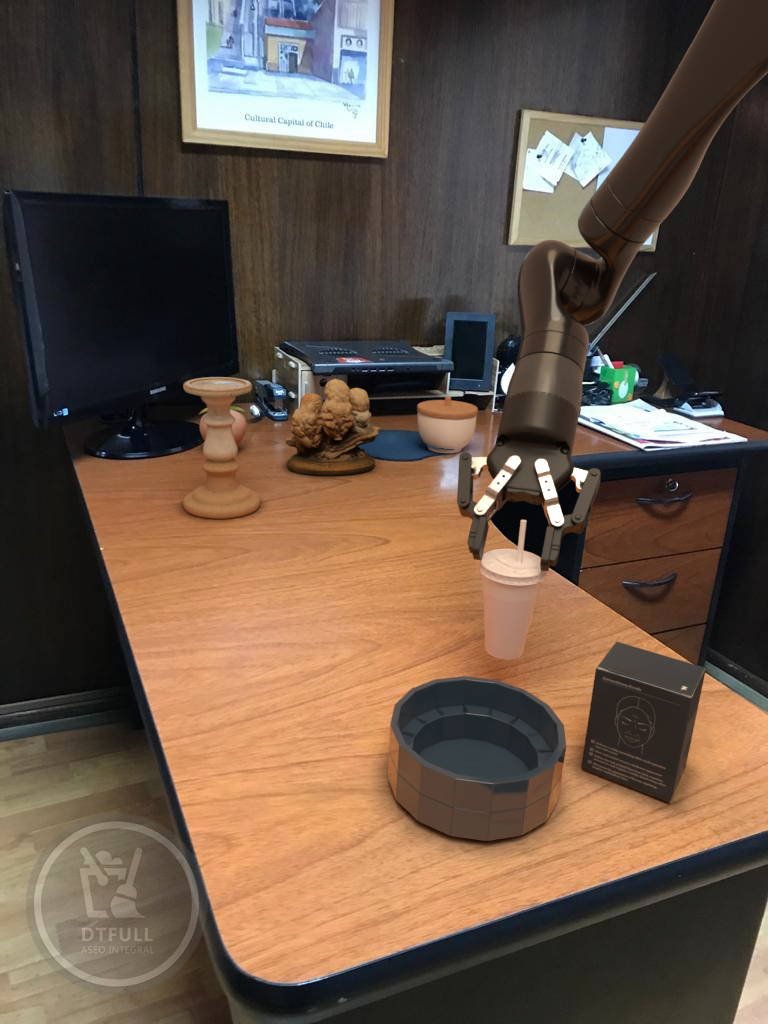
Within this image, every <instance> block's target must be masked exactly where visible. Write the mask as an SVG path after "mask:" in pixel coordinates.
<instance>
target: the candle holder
mask: <svg viewBox="0 0 768 1024" xmlns="http://www.w3.org/2000/svg"><path fill="white" fill-rule="evenodd" d="M182 385H183V386H182V388H183V390H184V392H185V393H187V394H189V395H192V396H198V397H200V398H201V401H202V402H203V403H205V406H206V408H208V412H207V415H206V416H205V417H204V418H203V422H204V423H205V424H206V425H207V432H206V438H205V440H204V442H203V444H202V445H203V446H202V454H203V456H204V457H205V458H207V459H206V460H204V462H203V463H202V465H201V469H202V470H203V471H204V473H205V474H206V482H205V483H206V484H203V485H200V486H198V487H196V488H195V489H194V490H193V491H190V492H189V493H187V494H186V495H185V496H184V498H183V500H182V506H183V510H185V512H187V513H188V514H190V515H193V516H196V517H198V518H203V519H213V520H214V519H215V520H217V519H219V520H222V519H224V520H225V519H233V518H239V517H243V516H247V515H250V514H252V513H254V512H255V511H257V510H258V509H259V508H260V506H261V497H260V495H259V494H258V492H255V491H254V490H252V489H250V488H248V487H247V486H245V485H242V484H240V483H237V478H236V473H237V472H238V470H239V469H240V463H239V462H238V461H237V460H236V459H235V457H236V456H237V454H238V452H239V449H238V444H236V442H235V439H234V435H233V431H232V424H234V423H235V418H234V417H233V416H232V415H231V413H230V406H232V403H234V402H235V401H236V397H238V396H239V397H240V396H243V395H246V394H248V393H250V392H251V391H252V389H253V384H252V382H251V381H250V380H247V379H243V378H238V377H228V376H208V377H207V376H206V377H196V378H192V379H189V380H185V381H184V382H183V384H182Z"/></svg>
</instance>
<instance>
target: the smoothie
mask: <svg viewBox="0 0 768 1024" xmlns="http://www.w3.org/2000/svg"><path fill="white" fill-rule="evenodd" d="M527 521H528V520H527V519H521V520H520V523H519V525H520V526H519V532H518V540H517V541H518V542H517V548H497V549H492V550H489V551H487V552H485V553H483V556H482V560H479V565H478V570H479V572H480V574H481V575H482V597H483V598H482V599H483V623H484V646H485V652H486V653H487V654H488V655H489V656H491V657H493V658H495V659H499V660H506V661H507V660H508V661H509V660H511V661H512V660H516V659H519V658H520V657H521V656H523V652H524V649H525V646H526V642H527V638H528V634H529V630H530V627H531V623H532V618H533V615H534V611H535V607H536V603H537V599H538V596H539V592H540V589H541V584H542V582H543V581H544V580H545V579H546V577H547V571H542V570H541V568H540V562H541V556H539V555H537V554H536V553H533V552H530V551H527V550H525V549H524V548H525V539H526V531H527Z"/></svg>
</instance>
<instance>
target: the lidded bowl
mask: <svg viewBox="0 0 768 1024" xmlns="http://www.w3.org/2000/svg"><path fill="white" fill-rule="evenodd" d="M416 412H417V414H416V415H417V416H416V417H417V418H416V423H417V431H418V434H419V437H420V439H421V441H422V442H423V443H424V444H425V443H426V444H428V445H430V446H433V447H436V448H444V449H454V450H444V449H436V448H432V447H429V446H427V449H428V450H429V451H430V452H434V453H439V454H457V453H460V452H461V451H463V450H462V449H464V448H465V447H466V446H467V445H468V444H469V443H470V441H471V440H472V438H473V437H474V434H475V430H476V426H477V416H478V414H479V409H478V407H477V406H476V405H474V404H473V403H468V402H466V401H465V402H464V401H459V400H452V397H451V396H445V398H444V399H431V400H425V401H422V402H419V403H418V404H417V405H416ZM426 444H425V445H426Z"/></svg>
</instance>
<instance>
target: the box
mask: <svg viewBox="0 0 768 1024" xmlns="http://www.w3.org/2000/svg"><path fill="white" fill-rule="evenodd" d="M706 671H707V670H706V667H705V666H701V665H699V664H695V663H691V662H688V661H683V660H680V659H677V658H675V657H674V658H673V657H670V656H667V655H663V654H660V653H658V652H654V651H650V650H647V649H643V648H640V647H637V646H634V645H629V644H626V643H624V642H620V641H616V642H614V644H612V647H611V648H610V649H609V650H608V652H607V653H606V654H605V656H604V657H603V659H602V660H601V661H600V662H599V664H598V665H597V666H596V668H595V671H594V672H595V673H594V678H593V684H592V692H591V700H590V706H589V711H588V712H589V713H588V718H587V726H586V733H585V740H584V745H583V746H584V747H583V753H582V760H581V769H582V770H583V771H586V772H588V773H592V774H595V775H598V776H599V777H602V778H605V779H607V780H610V781H612V782H615V783H618V784H621V785H622V786H625V787H628V788H631V789H633V790H636V791H638V792H641V793H643V794H646V795H648V796H650V797H654V798H656V799H659V800H661V801H664V802H666V803H671V802H672V800H673V798H674V795H675V793H676V791H677V788H678V786H679V784H680V781H681V779H682V776H683V775H684V773H685V769H686V768H687V762H688V758H689V753H690V749H691V744H692V739H693V733H694V728H695V726H696V725H695V723H696V719H697V715H698V709H699V704H700V699H701V695H702V690H703V685H704V680H705V676H706Z"/></svg>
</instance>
